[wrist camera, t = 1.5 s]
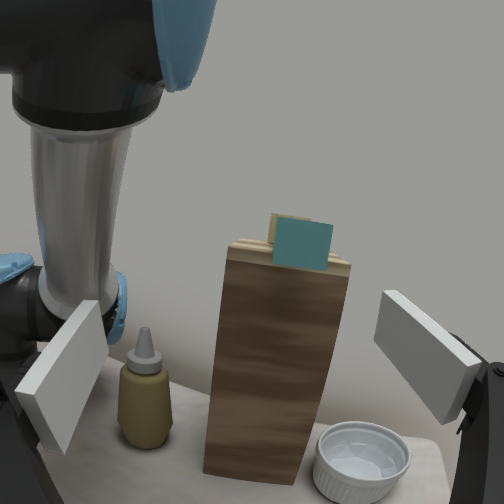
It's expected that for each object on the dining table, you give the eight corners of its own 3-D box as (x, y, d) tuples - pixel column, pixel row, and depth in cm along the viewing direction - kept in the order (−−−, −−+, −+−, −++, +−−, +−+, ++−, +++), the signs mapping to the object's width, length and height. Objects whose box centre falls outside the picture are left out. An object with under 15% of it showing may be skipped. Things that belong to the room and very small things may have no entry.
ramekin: (313, 447, 43) (323, 413, 42) (391, 458, 39) (407, 426, 38) (297, 505, 30) (310, 471, 29) (394, 517, 26) (417, 484, 25)
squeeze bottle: (139, 462, 34) (134, 347, 32) (109, 430, 39) (102, 321, 36) (183, 442, 40) (190, 335, 38) (151, 415, 45) (153, 314, 43)
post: (293, 485, 34) (351, 264, 30) (202, 472, 34) (228, 246, 31) (290, 434, 46) (330, 251, 42) (217, 424, 46) (241, 238, 43)
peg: (336, 277, 20) (345, 222, 20) (260, 266, 21) (268, 210, 20) (304, 245, 43) (308, 218, 43) (267, 240, 43) (271, 213, 43)
